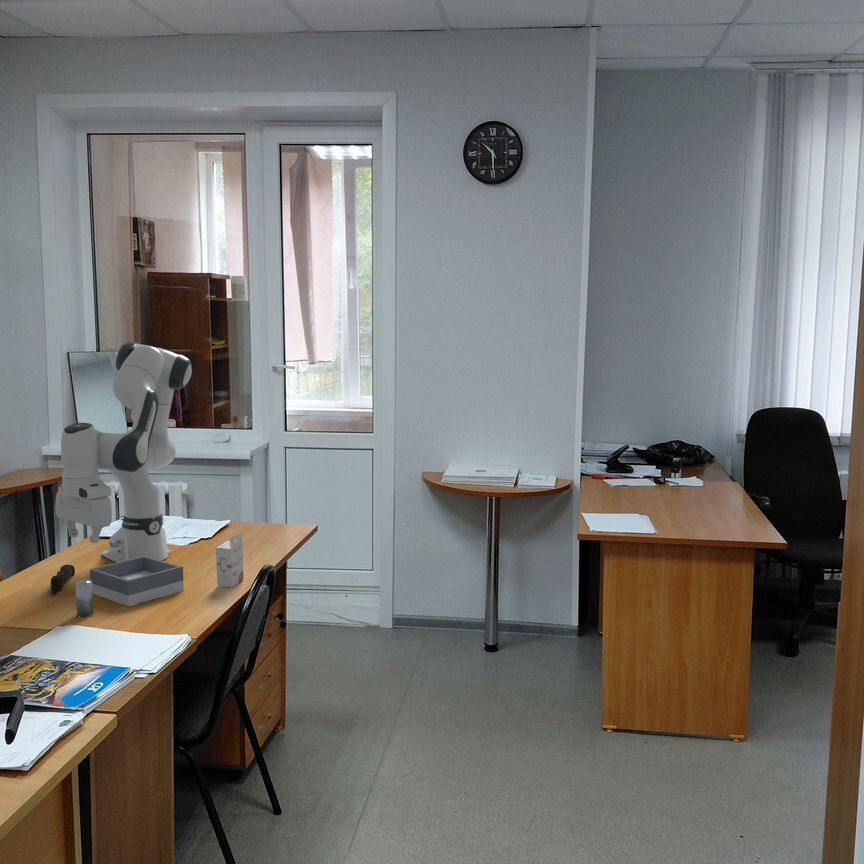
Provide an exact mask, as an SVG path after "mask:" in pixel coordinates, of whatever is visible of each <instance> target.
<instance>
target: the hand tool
mask: <svg viewBox="0 0 864 864" xmlns="http://www.w3.org/2000/svg"><path fill="white" fill-rule="evenodd" d="M59 569H60V570H59V571H56V575H52V576H51V578H50V590H51V594H52V596H55V595H57V594H59V593H60V592H61V591H62V590H63V587H64V585H65V584H67V582H68V581H69V579H70V578H72V577H71V576H73V577H74V576H75V574H76V572H75V571H76V569H75V566H74V565H72V564H63V565H62V566H60V568H59ZM58 592H59V593H58Z"/></svg>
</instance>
